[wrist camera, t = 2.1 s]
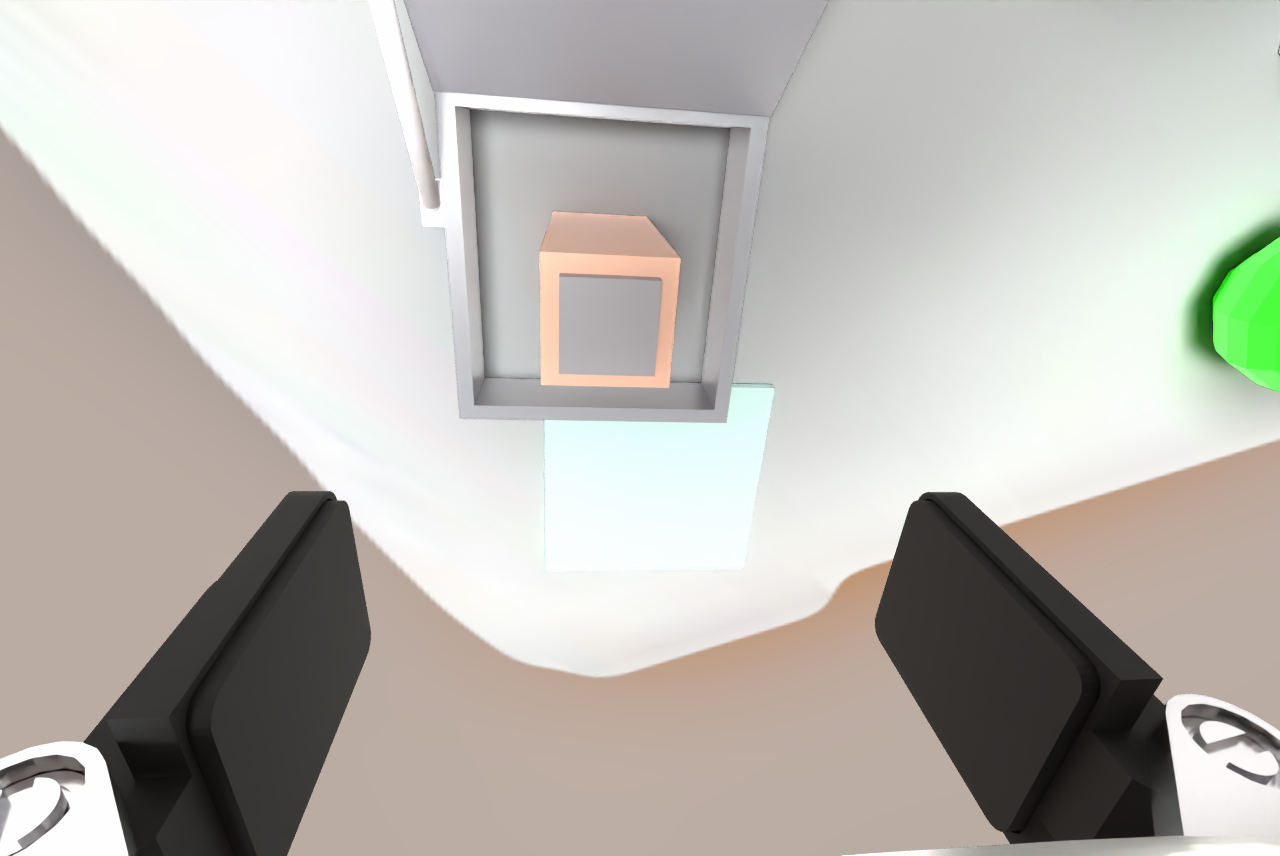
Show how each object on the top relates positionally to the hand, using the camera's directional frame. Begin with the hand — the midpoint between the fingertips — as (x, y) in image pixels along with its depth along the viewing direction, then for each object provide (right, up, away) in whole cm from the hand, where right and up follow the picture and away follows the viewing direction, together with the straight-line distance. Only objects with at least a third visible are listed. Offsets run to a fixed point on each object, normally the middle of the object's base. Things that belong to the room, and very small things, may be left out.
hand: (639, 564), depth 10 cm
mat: (+1, -1, +29) cm, 29 cm away
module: (-2, +11, +23) cm, 26 cm away
